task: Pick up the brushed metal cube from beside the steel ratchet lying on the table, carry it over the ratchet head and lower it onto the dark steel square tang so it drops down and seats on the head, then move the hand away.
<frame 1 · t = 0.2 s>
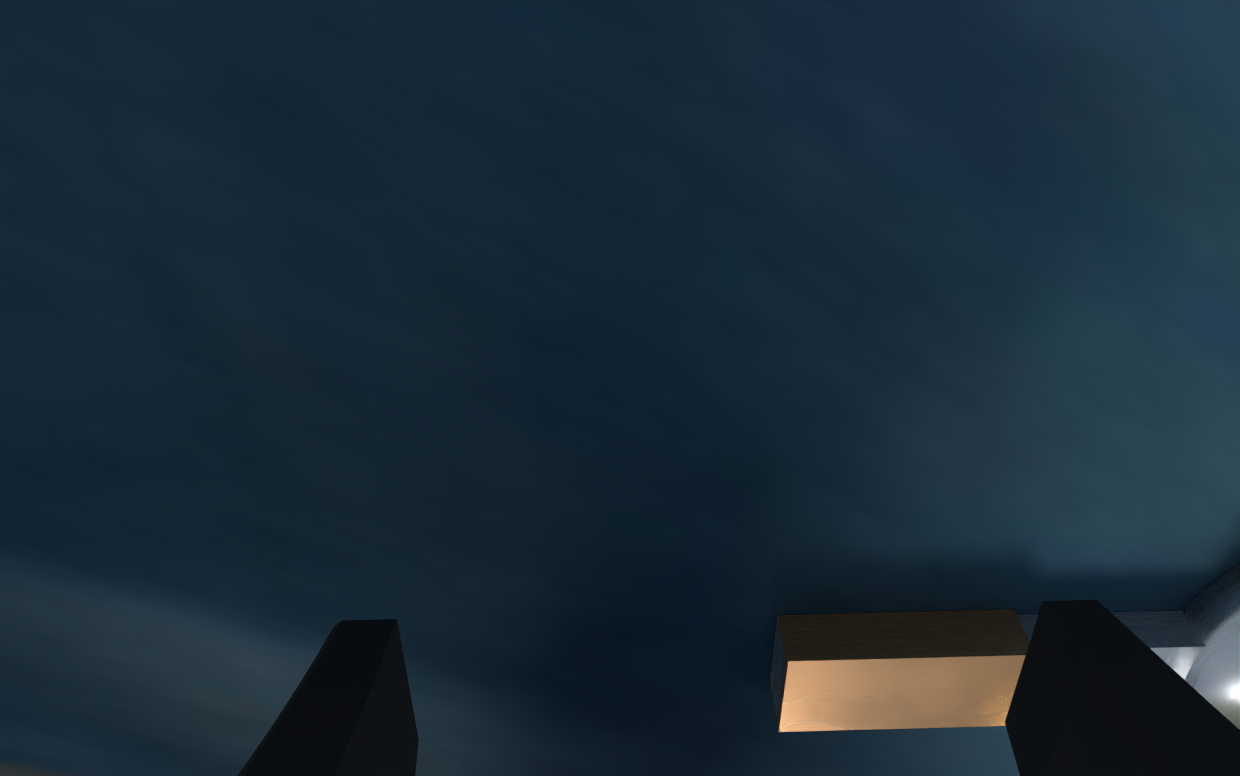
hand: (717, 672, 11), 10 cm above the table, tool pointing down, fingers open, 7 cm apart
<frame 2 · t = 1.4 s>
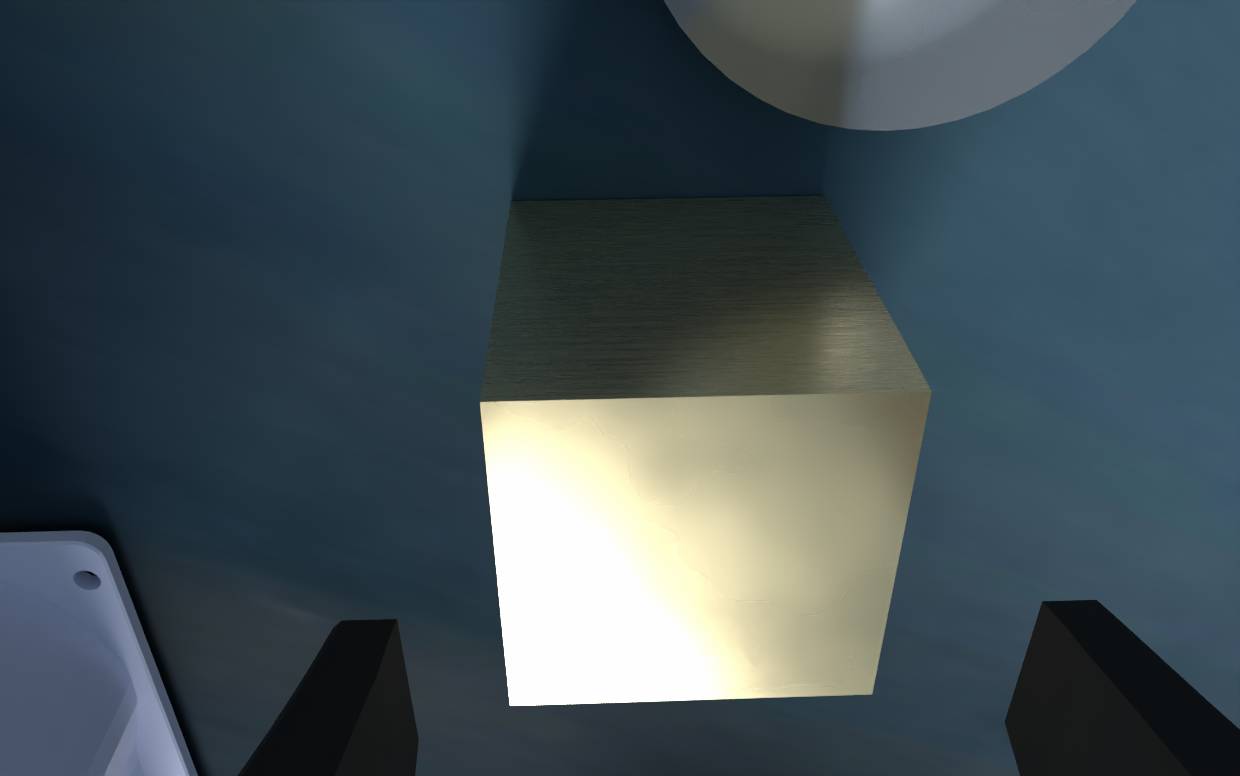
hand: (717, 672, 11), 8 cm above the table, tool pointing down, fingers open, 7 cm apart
brushed metal cube: (665, 334, 18), on the table
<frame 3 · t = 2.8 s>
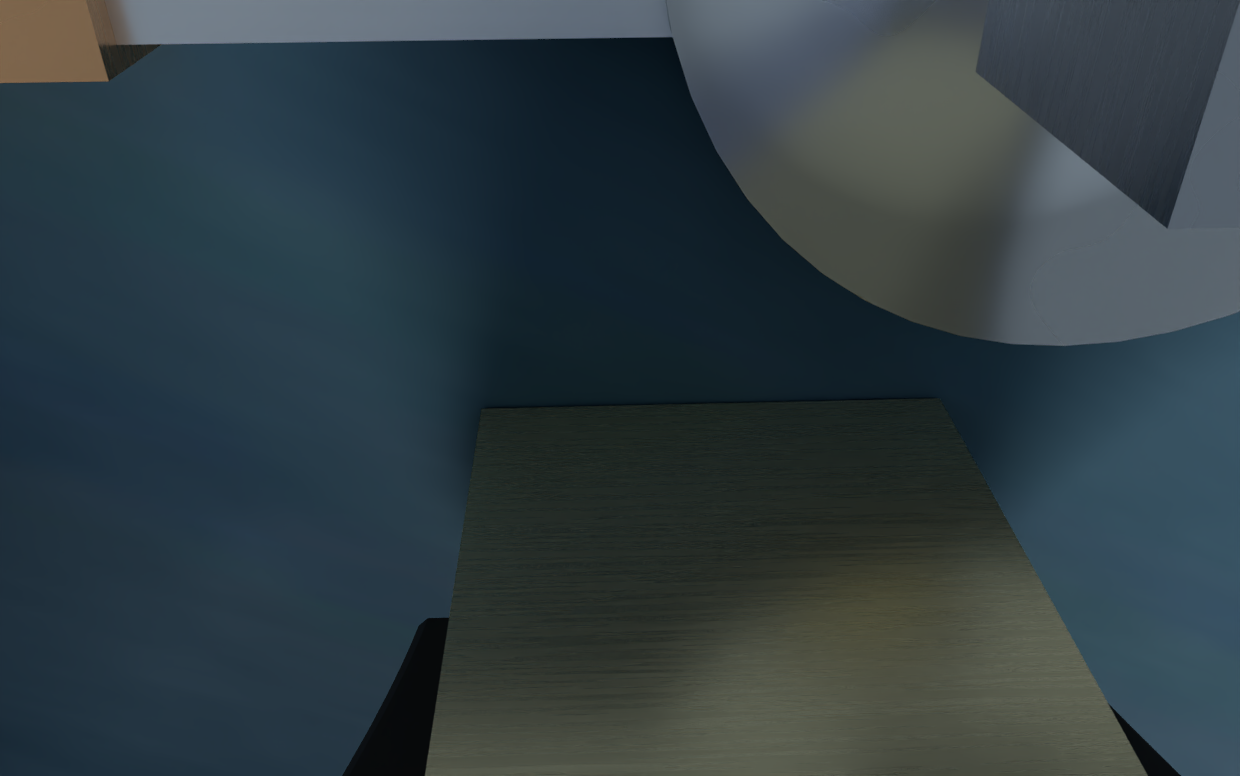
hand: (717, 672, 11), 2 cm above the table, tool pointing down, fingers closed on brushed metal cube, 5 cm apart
brushed metal cube: (702, 573, 13), on the table, touching gripper
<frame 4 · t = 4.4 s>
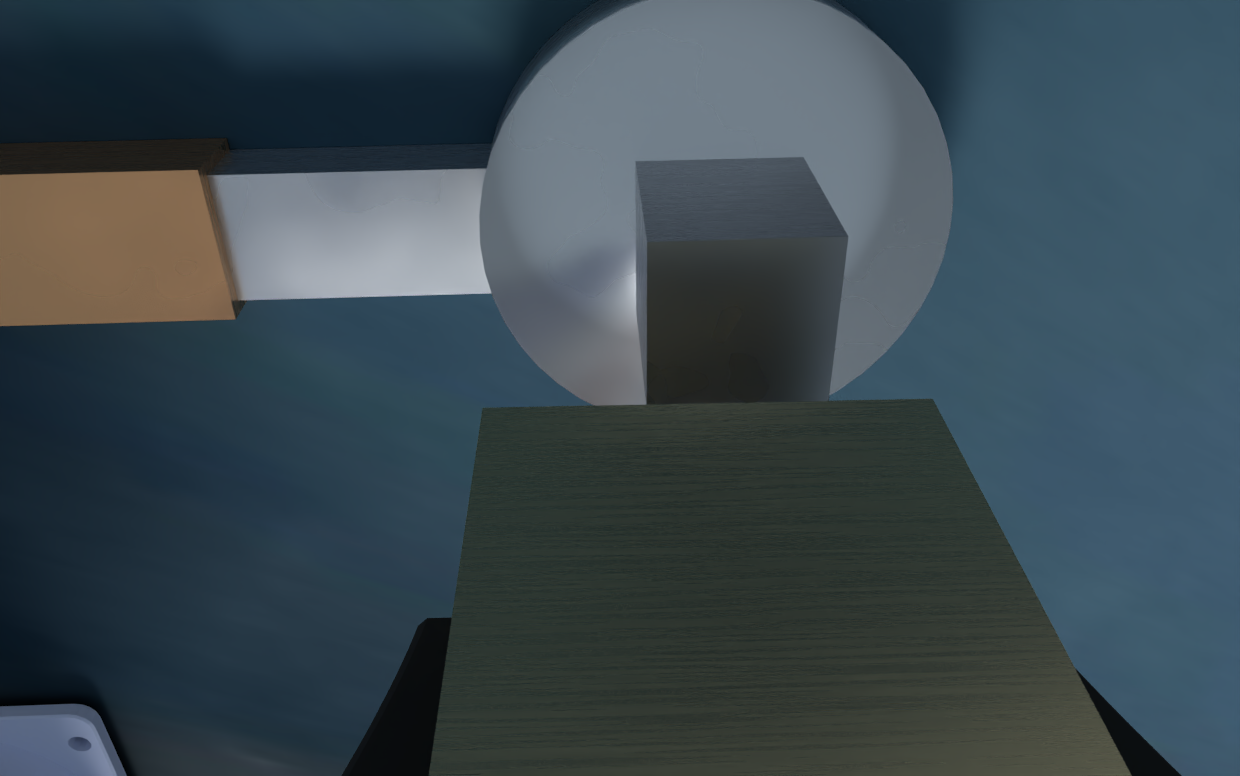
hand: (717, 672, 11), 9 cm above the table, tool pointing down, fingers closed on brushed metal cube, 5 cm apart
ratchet: (705, 199, 17), on the table
brushed metal cube: (699, 568, 13), point 7 cm above the table, touching gripper
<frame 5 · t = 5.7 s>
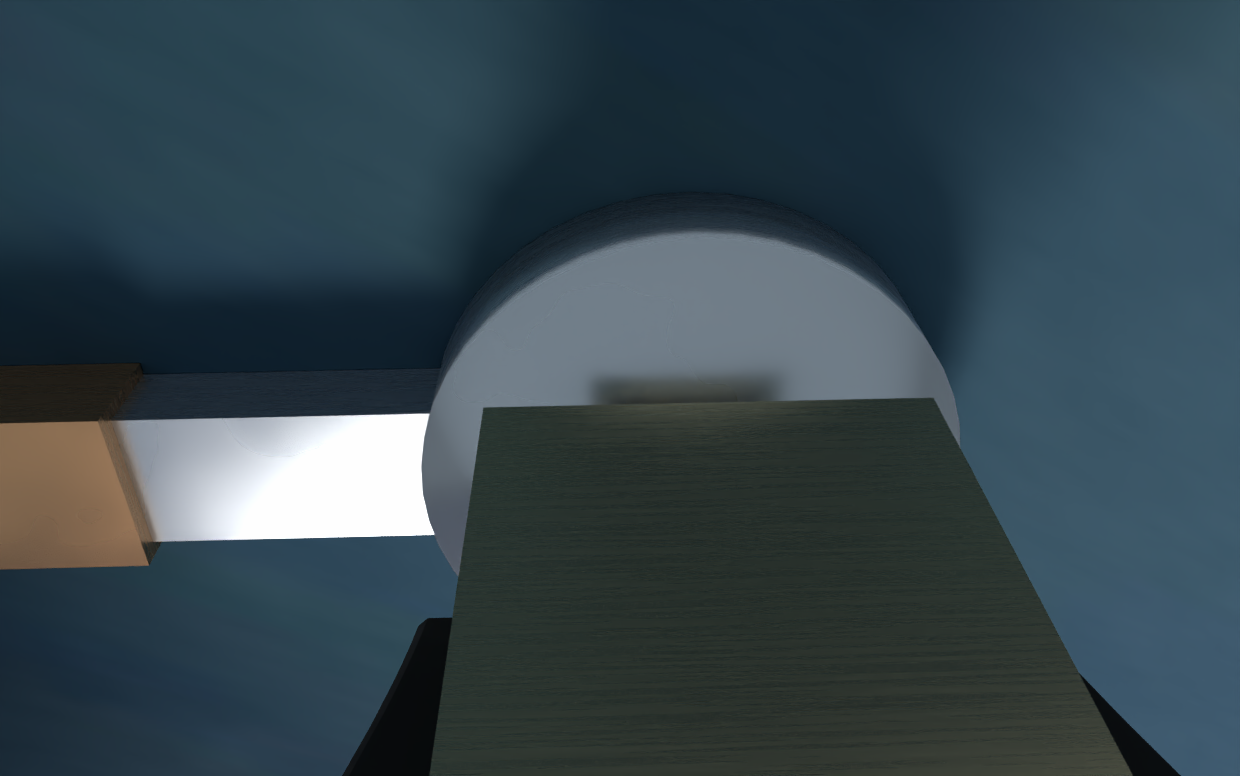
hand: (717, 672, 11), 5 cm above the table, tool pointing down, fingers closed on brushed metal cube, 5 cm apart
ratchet: (681, 423, 15), on the table
brushed metal cube: (700, 567, 13), point 3 cm above the table, touching gripper
when the fingers open (5 cm above the table, at t = 6.3 s): brushed metal cube drops 2 cm, resting on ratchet.
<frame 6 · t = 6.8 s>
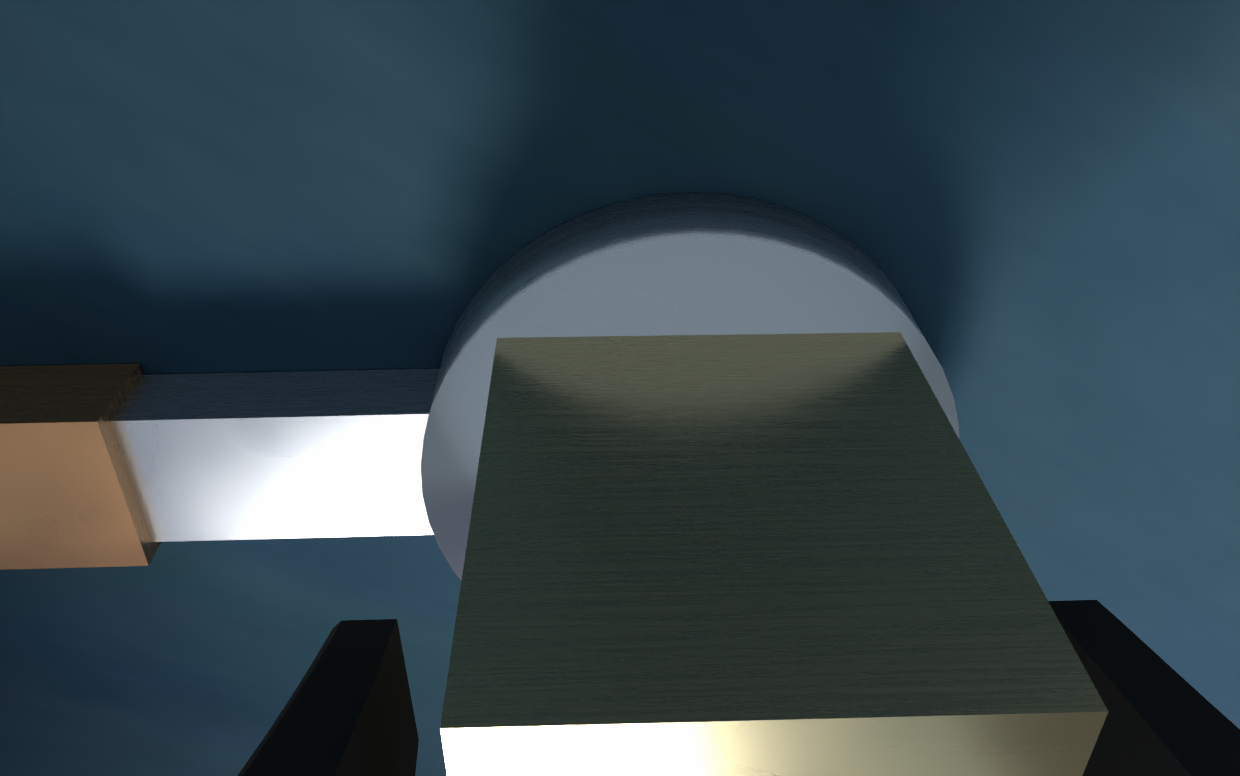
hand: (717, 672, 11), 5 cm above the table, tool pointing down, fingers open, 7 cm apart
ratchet: (681, 423, 15), on the table, touching brushed metal cube
brushed metal cube: (691, 493, 14), point 2 cm above the table, touching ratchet
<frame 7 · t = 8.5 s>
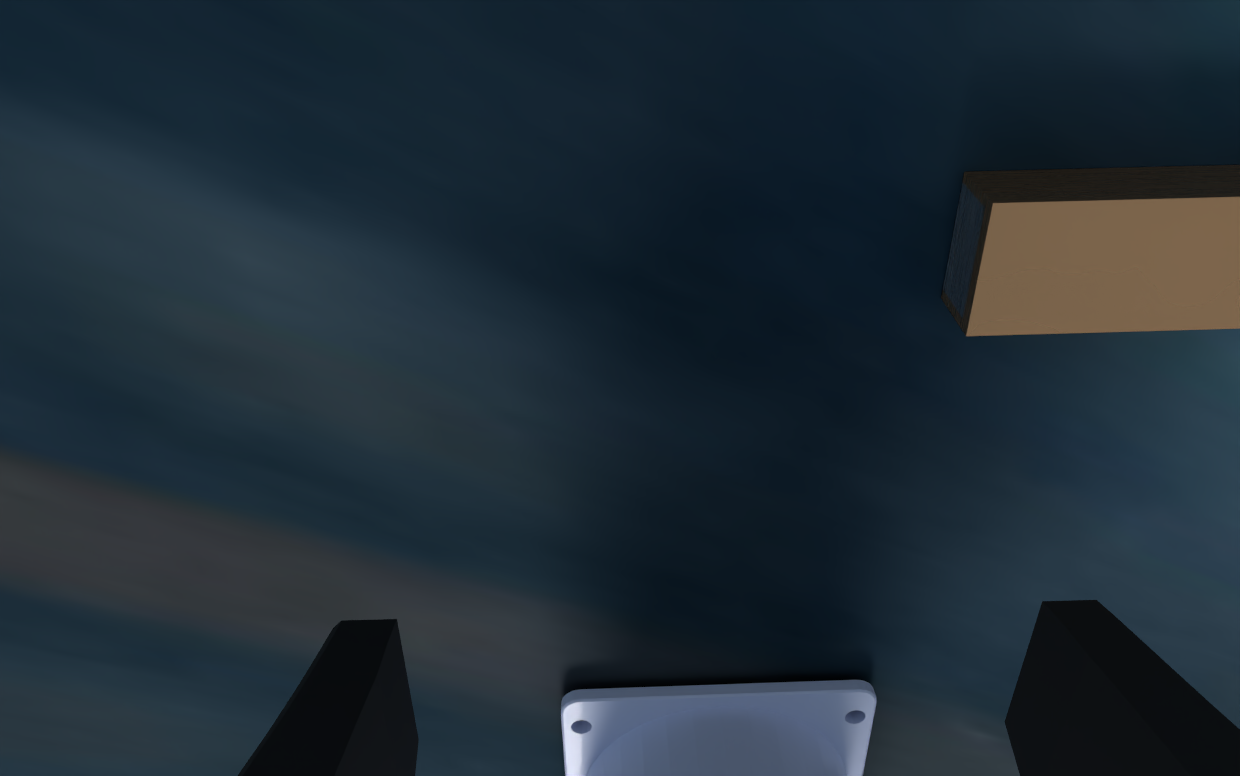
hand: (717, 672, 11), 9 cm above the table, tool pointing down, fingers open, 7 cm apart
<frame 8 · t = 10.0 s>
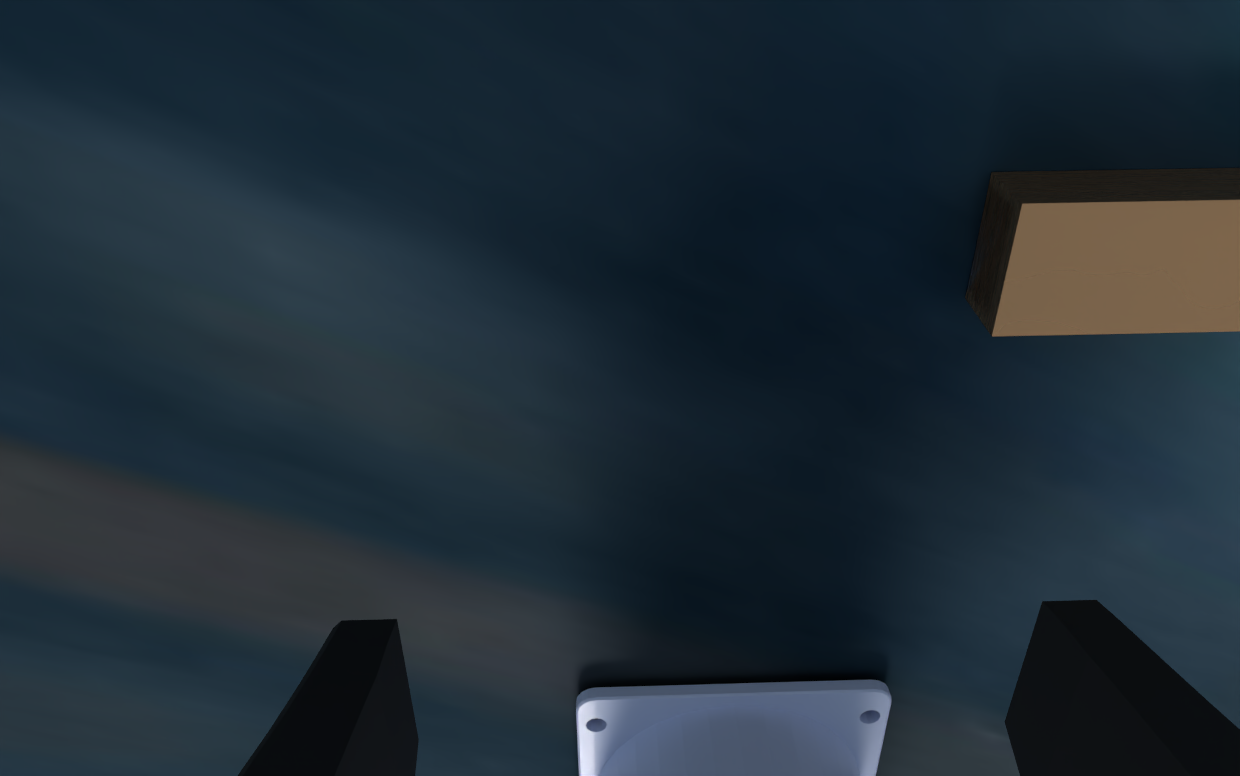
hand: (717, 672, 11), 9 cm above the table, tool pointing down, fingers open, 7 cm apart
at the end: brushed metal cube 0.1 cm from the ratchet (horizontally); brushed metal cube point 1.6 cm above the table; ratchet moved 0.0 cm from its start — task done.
